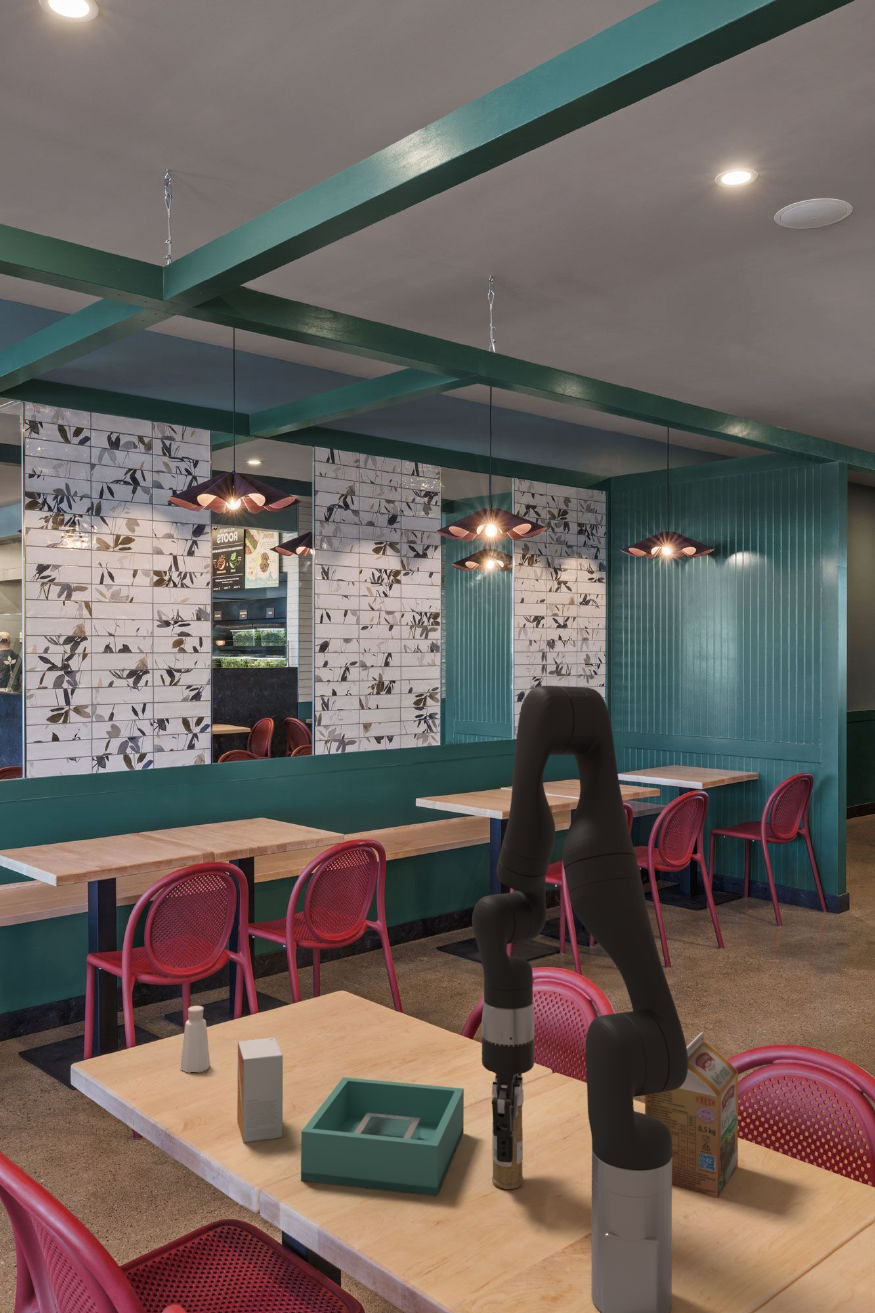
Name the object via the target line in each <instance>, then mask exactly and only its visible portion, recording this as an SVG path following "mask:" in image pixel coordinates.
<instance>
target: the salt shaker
mask: <svg viewBox="0 0 875 1313" xmlns="http://www.w3.org/2000/svg"><path fill="white" fill-rule="evenodd" d="M204 1009H205V1008H204V1006H201V1005H193V1006H192V1005H191V1006H189V1008H187V1012H188V1014H187V1015H188V1020H186V1022H185V1025H184V1032H183V1044H182V1051H181V1060H180V1067H179V1068H180V1070H181V1069H182V1070H183V1071H182V1070H181V1071H182V1072H184V1071H186V1072H188V1073H187V1074H191V1073H190V1072H199V1073H202V1072H205V1071H208V1070H207V1069H209V1068H210V1067H211V1061H210V1050H209V1049H210V1048H209V1040H208V1030H207V1027H208V1026H207V1021H206V1019H204V1017H203V1016H204ZM204 1070H205V1071H204ZM201 1071H202V1072H201ZM186 1072H185V1073H186Z"/></svg>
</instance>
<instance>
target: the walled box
mask: <svg viewBox="0 0 875 1313" xmlns="http://www.w3.org/2000/svg"><path fill="white" fill-rule="evenodd" d="M464 1091H465V1090H464V1088H463V1087H462V1088H461V1087H451V1086H442V1085H441V1086H440V1085H429V1084H418V1083H409V1082H401V1081H400V1082H399V1081H398V1082H397V1081H389V1080H378V1079H377V1080H375V1079H368V1078H366V1079H365V1078H355V1077H344V1076H343V1077H342V1078H341V1080H340V1081H339V1082H338V1083H337V1085H336V1086H335V1087H334V1088H333V1090H331V1092H330V1093H329V1095H328V1096H327V1097H326V1099H325V1100H324V1102H322V1104H321V1105H320V1106H319V1108H318V1109H317V1111H316V1112H315V1113H314V1114H313V1115H312V1117H311V1118H310V1119H309V1121H308V1122H307V1123H306V1125H305V1126H304V1127H303V1129H302V1130H301V1132H300V1133H301V1135H300V1136H301V1137H300V1138H301V1139H300V1141H301V1143H300V1145H301V1146H300V1181H302V1182H309V1183H310V1182H311V1183H319V1184H327V1185H328V1184H329V1185H336V1186H345V1187H353V1188H354V1187H355V1188H362V1189H372V1190H379V1191H387V1192H396V1193H404V1194H405V1193H406V1194H407V1193H408V1194H413V1195H421V1196H422V1195H423V1196H430V1197H438V1195H439V1193H440V1191H441V1188H442V1185H443V1183H444V1180H445V1179H446V1177H447V1174H448V1171H449V1169H450V1167H451V1164H452V1162H453V1159H454V1157H455V1156H456V1155H455V1154H456V1152H457V1150H458V1148H459V1146H460V1142H461V1140H462V1138H463V1135H464V1120H465V1119H464V1110H465V1108H464V1107H465V1106H464V1105H465V1104H464V1103H465V1100H464V1099H465V1098H464V1096H465V1092H464ZM366 1113H375V1114H385V1115H394V1116H404V1117H414V1118H421V1136H420V1140H415V1139H406V1138H396V1137H387V1136H377V1135H368V1134H358V1133H354V1132H355V1130H356V1129H357V1127H358V1126H359V1124H360V1123H361V1121H362V1120H363V1118H364V1117H365V1115H366Z"/></svg>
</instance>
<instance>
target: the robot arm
mask: <svg viewBox="0 0 875 1313" xmlns="http://www.w3.org/2000/svg"><path fill="white" fill-rule="evenodd" d="M517 722H518V723H517V729H516V730H517V731H516V741H515V752H514V761H513V763H514V764H513V771H512V784H511V785H512V786H511V799H510V805H509V806H510V807H509V813H508V820H507V823H506V824H507V825H506V829H505V832H504V835H503V836H504V838H503V840H502V844H501V849H500V852H499V855H498V860H497V865H496V875H497V878H498V880H499V881H500V883H502V884H503V885H504V886H505V887H507V888H510V889H511V890H515V891H514V892H508V893H507V892H506V893H499V894H490V895H486V896H483V897H481V898H479V900H478V901H477V902H476V904H475V905H474V908H473V910H472V911H473V912H472V916H471V917H472V918H471V925H472V929H473V935H474V937H475V941H476V944H477V949H478V951H479V952H478V953H479V957H480V961H481V966H482V970H483V976H484V977H483V1007H482V1016H481V1063H482V1064H481V1065H482V1066H483V1068H484V1069H486V1070H487V1071H489V1072H492V1073H494V1074H495V1078H494V1081H492V1087H491V1095H492V1094H493V1096H494V1098H493V1100H492V1099H491V1107H492V1123H493V1133H494V1136H497V1160H498V1161H499V1162H507V1163H510V1162H512V1159H513V1134H514V1119H515V1118H516V1117H517V1116H518V1097H519V1096H520V1092H521V1088H522V1089H523V1086H524V1077H523V1074H526V1073H528V1072H530V1071H531V1070H532V1069H533V1067H534V1065H535V1013H534V1005H533V1004H534V1003H533V1002H534V1000H533V998H534V997H533V992H534V990H533V989H534V987H533V986H534V985H533V984H534V982H533V981H534V980H533V979H534V973H533V968H532V965H531V963H530V962H529V961H528V960H526V959H524V958H522V957H517V956H510V955H508V952H507V945H509V944H517V943H522V942H524V943H525V942H529V941H531V940H532V941H533V940H534V939H536V938H537V937H538V936H540V934H541V933H542V931H543V929H544V927H545V925H546V920H547V902H546V900H547V896H546V894H547V893H546V890H547V889H546V888H547V887H546V878H547V873H548V870H549V867H550V866H549V865H550V863H551V858H552V855H553V851H554V848H555V843H556V824H555V820H554V815H553V814H552V810H551V807H550V804H549V801H548V798H547V795H546V791H545V788H544V774H545V769H546V765H547V762H548V761H549V760H548V759H549V758H550V756H555V755H556V756H557V755H560V756H566V755H567V756H568V755H569V756H574V758H575V761H576V766H577V769H578V770H577V771H578V776H579V777H578V778H579V785H580V786H579V788H580V789H579V796H578V801H577V802H578V803H577V806H576V809H575V812H574V814H573V816H572V819H571V822H570V824H569V827H568V830H567V832H566V835H565V836H566V837H565V838H564V843H563V847H562V853H561V854H562V855H561V858H562V866H563V870H564V876H565V881H566V885H567V891H568V896H569V900H570V903H571V904H570V905H571V907H572V909H573V911H574V913H575V915H576V916H577V918H578V920H579V921H580V923H581V924H582V925H583V927H584V928H585V929H586V930H587V931H588V933H589V934H590V935H591V936H592V937H593V939H594V940H595V941H596V942H597V943H598V945H600V947H601V948H602V949H603V950H604V951H605V952H606V953H605V954H607V955H608V956H609V958H610V959H611V960H612V962H613V964H615V967H616V968H617V971H619V973H620V975H621V977H622V979H623V981H624V984H625V987H626V990H627V993H628V996H629V1000H630V1003H631V1006H632V1010H631V1011H630V1010H629V1011H623V1012H615V1013H609V1014H602V1015H600V1016H597V1017H595V1018H594V1019H593V1020H592V1021H591V1022H590V1024H589V1026H588V1029H587V1032H586V1038H585V1053H584V1054H585V1071H586V1072H585V1073H586V1091H587V1093H586V1097H587V1098H586V1099H587V1117H588V1122H589V1127H590V1134H591V1251H590V1252H591V1254H590V1256H591V1258H590V1259H591V1260H590V1261H591V1278H590V1279H591V1283H590V1286H591V1288H590V1289H591V1293H590V1294H591V1300H592V1303H593V1305H594V1306H595V1307H596V1308H597V1310H598V1311H599V1312H600V1313H670V1312H671V1309H672V1302H673V1301H672V1299H673V1298H672V1295H673V1294H672V1293H673V1290H672V1289H673V1287H672V1285H673V1284H672V1283H673V1282H672V1281H673V1268H672V1267H673V1265H672V1264H673V1260H672V1259H673V1257H672V1254H673V1251H672V1249H673V1248H672V1246H673V1245H672V1244H673V1242H672V1240H673V1219H672V1218H673V1186H672V1136H671V1133H670V1131H669V1129H668V1127H667V1126H666V1125H665V1124H663V1123H662V1122H661V1121H659V1120H657V1119H656V1118H654V1117H652V1116H649V1115H646V1114H645V1113H642V1112H639V1111H636V1110H635V1108H634V1098H635V1097H641V1096H642V1097H643V1096H645V1095H649V1094H655V1093H661V1092H667V1091H672V1090H675V1089H678V1088H679V1087H681V1086H682V1084H683V1083H684V1082H685V1080H686V1077H687V1073H688V1053H687V1047H686V1046H687V1042H686V1039H685V1038H686V1037H685V1034H684V1030H683V1027H682V1023H681V1020H680V1017H679V1014H678V1011H677V1008H676V1005H675V1001H674V998H673V995H672V992H671V990H670V986H669V984H668V980H667V977H666V974H665V971H664V967H663V964H662V961H661V957H660V955H659V951H658V947H657V943H656V939H655V936H654V932H653V928H652V923H651V920H650V914H649V911H648V906H647V901H646V897H645V890H644V886H643V881H642V877H641V873H640V868H639V863H638V860H637V855H636V850H635V848H634V844H633V841H632V837H631V834H630V828H629V824H628V819H627V815H626V811H625V806H624V801H623V795H622V791H621V784H620V779H619V772H618V765H617V764H618V763H617V758H616V750H615V749H616V748H615V743H614V742H615V741H614V735H613V733H614V732H613V727H612V721H611V716H610V712H609V709H608V706H607V703H606V700H605V699H604V698H603V695H601V693H600V692H599V691H597V689H594V688H593V687H592V688H591V687H586V686H585V687H584V686H571V685H570V686H569V685H568V686H567V685H565V686H564V685H540V686H536V687H533V688H531V689H530V690H529V691H528V693H527V694H526V695H525V698H524V699H523V702H522V705H521V708H520V712H519V717H518V721H517ZM513 1097H514V1109H513V1111H512V1112H511V1107H512V1106H513ZM500 1123H501V1124H506V1125H507V1127H506V1126H500Z"/></svg>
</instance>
